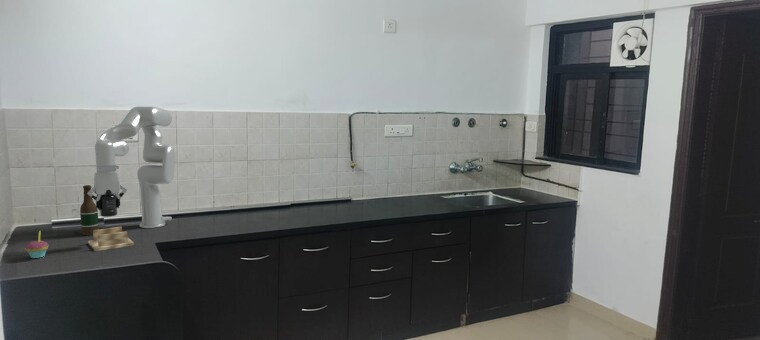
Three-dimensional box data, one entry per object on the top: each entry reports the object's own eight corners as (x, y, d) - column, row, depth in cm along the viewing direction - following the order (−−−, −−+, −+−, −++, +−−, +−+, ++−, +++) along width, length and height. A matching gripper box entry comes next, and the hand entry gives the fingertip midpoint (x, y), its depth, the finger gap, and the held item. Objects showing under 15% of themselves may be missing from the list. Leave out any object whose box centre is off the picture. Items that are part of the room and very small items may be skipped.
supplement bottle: (120, 213, 253) (118, 187, 251) (112, 216, 246) (111, 190, 245) (105, 213, 253) (103, 187, 251) (97, 216, 246) (95, 190, 245)
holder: (125, 238, 263) (125, 225, 262) (134, 245, 250) (133, 231, 249) (88, 243, 253) (87, 230, 252) (94, 251, 240) (93, 237, 240)
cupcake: (53, 254, 235) (51, 227, 234) (42, 260, 227) (39, 231, 225) (33, 254, 235) (30, 227, 234) (20, 260, 227) (18, 232, 225)
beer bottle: (79, 236, 266) (76, 187, 263) (83, 232, 273) (80, 184, 270) (97, 235, 268) (94, 186, 265) (101, 231, 275) (97, 184, 272)
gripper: (124, 167, 255) (127, 205, 257) (82, 169, 245) (85, 209, 247) (128, 168, 249) (131, 207, 251) (85, 171, 239) (88, 212, 241)
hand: (108, 208), depth 249 cm, fingers closed on supplement bottle, 6 cm apart
